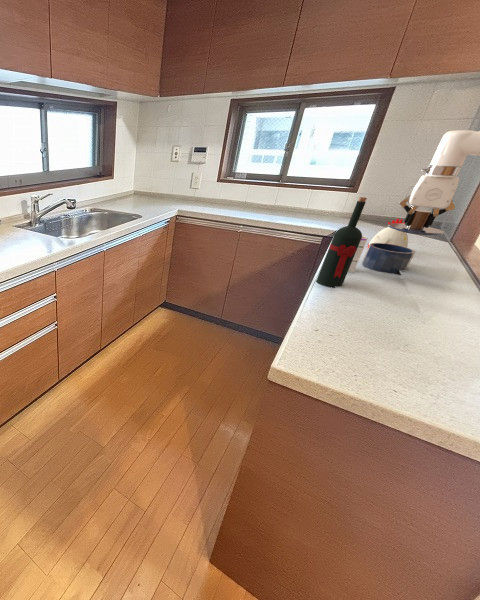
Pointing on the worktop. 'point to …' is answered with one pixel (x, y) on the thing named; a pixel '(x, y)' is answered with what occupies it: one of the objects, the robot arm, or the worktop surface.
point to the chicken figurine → (391, 236)
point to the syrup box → (358, 254)
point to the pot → (387, 258)
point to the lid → (417, 225)
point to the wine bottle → (342, 250)
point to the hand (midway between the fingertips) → (416, 225)
